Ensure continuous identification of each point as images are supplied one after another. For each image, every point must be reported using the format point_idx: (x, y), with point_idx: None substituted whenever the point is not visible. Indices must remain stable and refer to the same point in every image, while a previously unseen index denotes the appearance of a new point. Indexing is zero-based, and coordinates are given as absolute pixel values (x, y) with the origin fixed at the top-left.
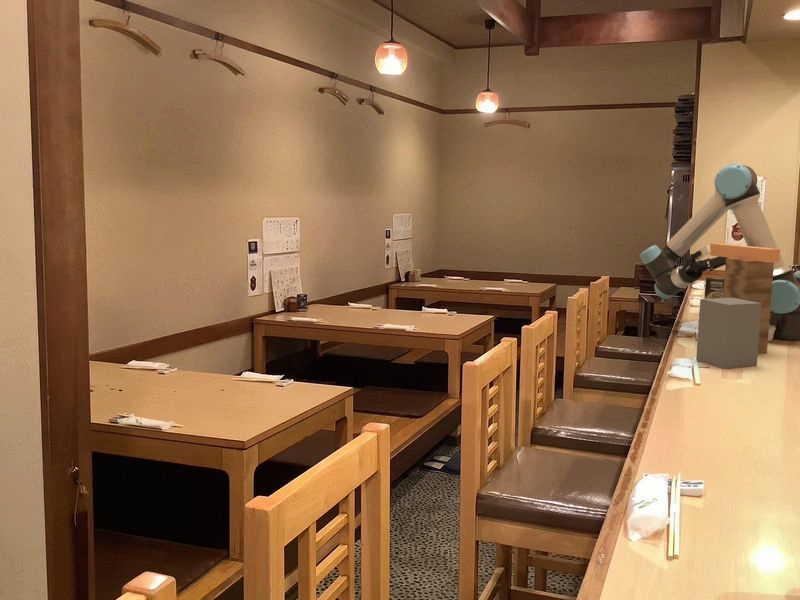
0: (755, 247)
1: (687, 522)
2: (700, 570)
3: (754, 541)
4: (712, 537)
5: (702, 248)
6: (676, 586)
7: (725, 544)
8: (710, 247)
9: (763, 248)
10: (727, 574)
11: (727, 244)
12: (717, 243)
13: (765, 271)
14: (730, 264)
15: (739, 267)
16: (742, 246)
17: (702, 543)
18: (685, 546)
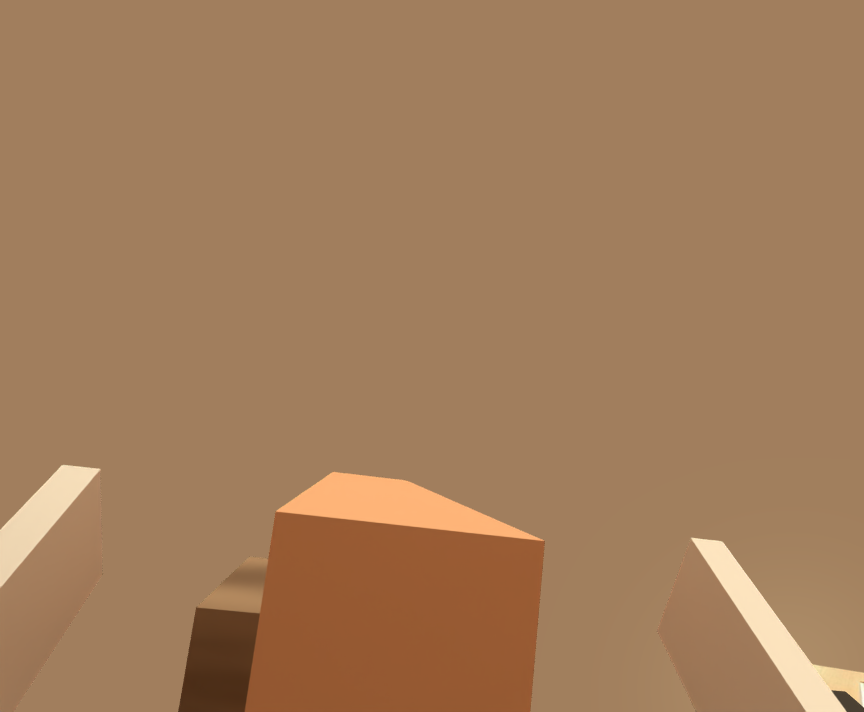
0: (378, 482)
1: (854, 693)
2: (844, 675)
3: None
4: (834, 683)
5: (770, 626)
6: (860, 673)
7: (824, 679)
8: (535, 633)
9: (388, 480)
10: (826, 671)
11: (365, 499)
12: (367, 520)
13: None
14: None
15: None
16: (410, 489)
17: (842, 683)
18: (855, 684)
